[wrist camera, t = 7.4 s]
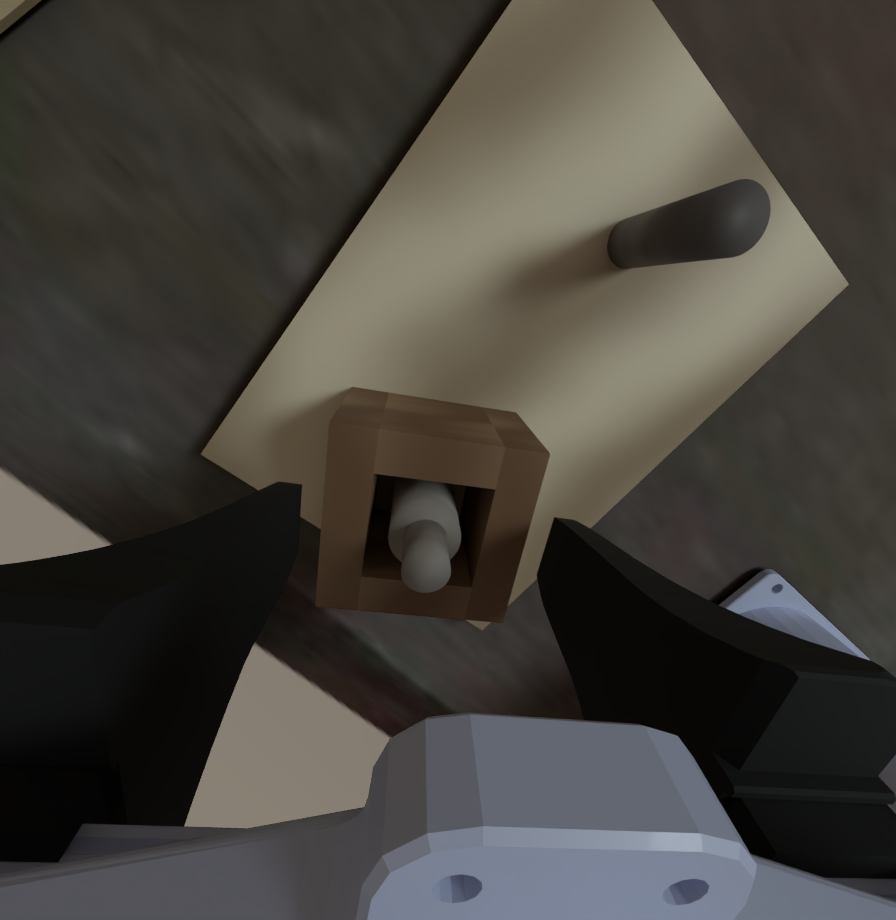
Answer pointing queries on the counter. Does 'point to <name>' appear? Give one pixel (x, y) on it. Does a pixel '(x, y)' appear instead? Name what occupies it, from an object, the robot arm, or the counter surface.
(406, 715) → the counter surface
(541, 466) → the collar
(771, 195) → the fitting board
